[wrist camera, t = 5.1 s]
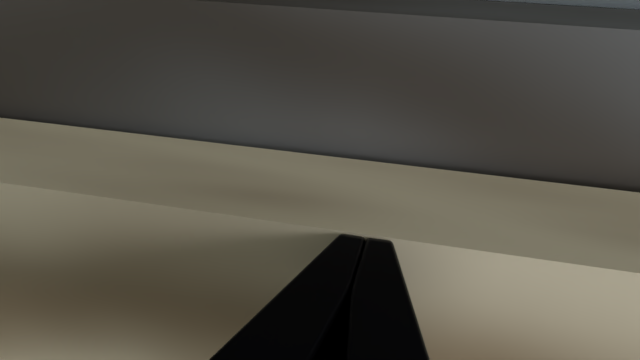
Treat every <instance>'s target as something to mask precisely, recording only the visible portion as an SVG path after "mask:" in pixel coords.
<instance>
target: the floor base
mask: <svg viewBox="0 0 640 360" xmlns="http://www.w3.org/2000/svg"><path fill="white" fill-rule="evenodd" d="M0 118H8V119H16V120H25V121H33V122H42V123H50V124H59V125H67V126H76V127H84V128H93V129H101V130H110V131H118V132H127V133H136V134H144V135H153V136H161V137H170V138H178V139H187V140H195V141H204V142H212V143H221V144H229V145H238V146H246V147H255V148H263V149H272V150H281V151H289V152H298V153H306V154H315V155H323V156H332V157H340V158H349V159H357V160H366V161H374V162H383V163H391V164H400V165H408V166H417V167H426V168H434V169H443V170H451V171H460V172H468V173H477V174H485V175H494V176H502V177H511V178H519V179H528V180H536V181H545V182H554V183H562V184H571V185H579V186H588V187H596V188H605V189H613V190H622V191H630V192H639V193H640V10H632V9H616V8H599V7H583V6H566V5H550V4H534V3H517V2H501V1H484V0H0Z"/></svg>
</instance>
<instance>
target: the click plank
mask: <svg viewBox="0 0 640 360" xmlns="http://www.w3.org/2000/svg"><path fill="white" fill-rule="evenodd" d="M340 234H349V235H356V236H362V237H364V238H365V240H367V239H368V238H376V239H384V240H390V241H392V242H393V244H394V247H395V250H396V253H397V257H398V260H399V263H400V266H401V269H402V272H403V276H404V279H405V282H406V285H407V288H408V291H409V295H410V298H411V301H412V304H413V307H414V310H415V314H416V317H417V320H418V323H419V326H420V329H421V333H422V336H423V339H424V342H425V345H426V348H427V352H428V355H429V358H430V360H640V193H639V192H630V191H622V190H613V189H605V188H596V187H588V186H579V185H571V184H562V183H554V182H545V181H536V180H528V179H519V178H511V177H502V176H494V175H485V174H477V173H468V172H460V171H451V170H443V169H434V168H426V167H417V166H408V165H400V164H391V163H383V162H374V161H366V160H357V159H349V158H340V157H332V156H323V155H315V154H306V153H298V152H289V151H281V150H272V149H263V148H255V147H246V146H238V145H229V144H221V143H212V142H204V141H195V140H187V139H178V138H170V137H161V136H153V135H144V134H136V133H127V132H118V131H110V130H101V129H93V128H84V127H76V126H67V125H59V124H50V123H42V122H33V121H25V120H16V119H8V118H0V360H209V359H210V358H211V357H212V356H213V355H214V354H215V353H216V352H217V351H218V350H219V349H220V348H222V347H223V346H224V345H225V344H226V343H227V342H228V341H229V340H230V339H231V338H232V337H233V336H234V335H235V334H236V333H237V332H238V331H239V330H240V329H241V328H242V327H243V326H244V325H246V324H247V323H248V322H249V321H250V320H251V319H252V318H253V317H254V316H255V315H256V314H257V313H258V312H259V311H260V310H261V309H262V308H263V307H264V306H265V305H266V304H267V303H268V302H270V301H271V300H272V299H273V298H274V297H275V296H276V295H277V294H278V293H279V292H280V291H281V290H282V289H283V288H284V287H285V286H286V285H287V284H288V283H289V282H290V281H291V280H292V279H294V278H295V277H296V276H297V275H298V274H299V273H300V272H301V271H302V270H303V269H304V268H305V267H306V266H307V265H308V264H309V263H310V262H311V261H312V260H313V259H314V258H315V257H316V256H318V255H319V254H320V253H321V252H322V251H323V250H324V249H325V248H326V247H327V246H328V245H329V244H330V243H331V242H332V241H333V240H334V239H335V238H336V237H337V236H338V235H340Z"/></svg>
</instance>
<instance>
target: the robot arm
mask: <svg viewBox="0 0 640 360" xmlns="http://www.w3.org/2000/svg"><path fill="white" fill-rule="evenodd" d="M209 360H430V358H429V355H428V352H427V348H426V345H425V342H424V339H423V336H422V333H421V329H420V326H419V323H418V320H417V317H416V314H415V310H414V307H413V304H412V301H411V298H410V295H409V291H408V288H407V285H406V282H405V279H404V276H403V272H402V269H401V266H400V263H399V260H398V257H397V253H396V250H395V247H394V244H393V242H392V241H390V240H384V239H376V238H368V239H367V240H365V238H364V237H362V236H356V235H349V234H340V235H338V236H337V237H336V238H335V239H334V240H333V241H332V242H331V243H330V244H329V245H328V246H327V247H326V248H325V249H324V250H323V251H322V252H321V253H320V254H319V255H318V256H316V257H315V258H314V259H313V260H312V261H311V262H310V263H309V264H308V265H307V266H306V267H305V268H304V269H303V270H302V271H301V272H300V273H299V274H298V275H297V276H296V277H295V278H294V279H292V280H291V281H290V282H289V283H288V284H287V285H286V286H285V287H284V288H283V289H282V290H281V291H280V292H279V293H278V294H277V295H276V296H275V297H274V298H273V299H272V300H271V301H270V302H268V303H267V304H266V305H265V306H264V307H263V308H262V309H261V310H260V311H259V312H258V313H257V314H256V315H255V316H254V317H253V318H252V319H251V320H250V321H249V322H248V323H247V324H246V325H244V326H243V327H242V328H241V329H240V330H239V331H238V332H237V333H236V334H235V335H234V336H233V337H232V338H231V339H230V340H229V341H228V342H227V343H226V344H225V345H224V346H223V347H222V348H220V349H219V350H218V351H217V352H216V353H215V354H214V355H213V356H212V357H211V358H210V359H209Z"/></svg>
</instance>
